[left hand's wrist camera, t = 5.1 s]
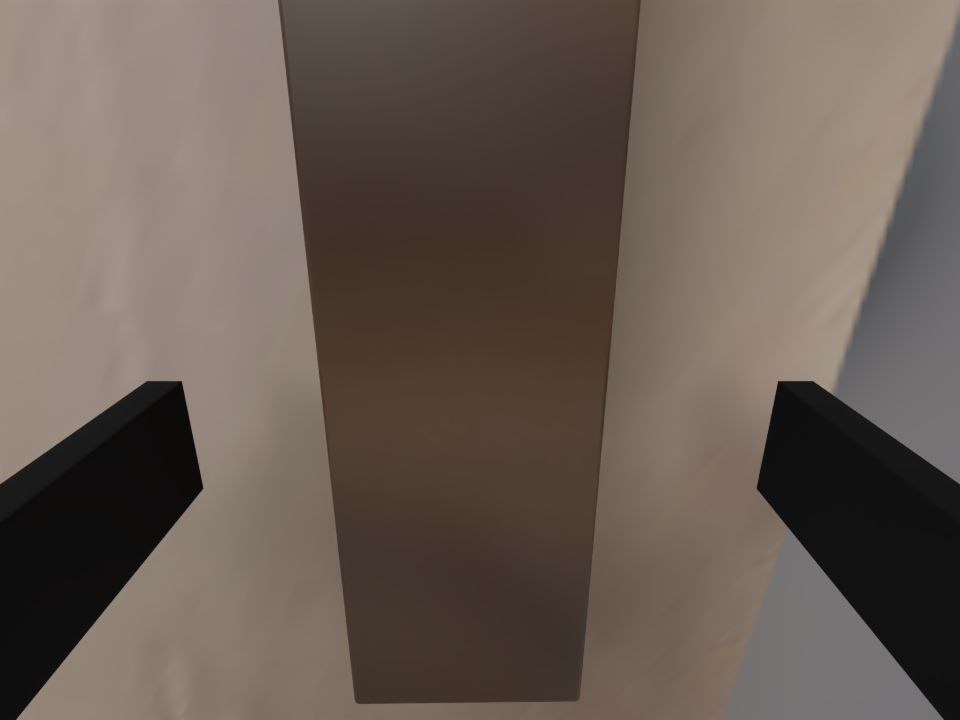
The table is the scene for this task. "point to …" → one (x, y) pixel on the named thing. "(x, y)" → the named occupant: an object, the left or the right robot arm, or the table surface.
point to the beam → (462, 323)
